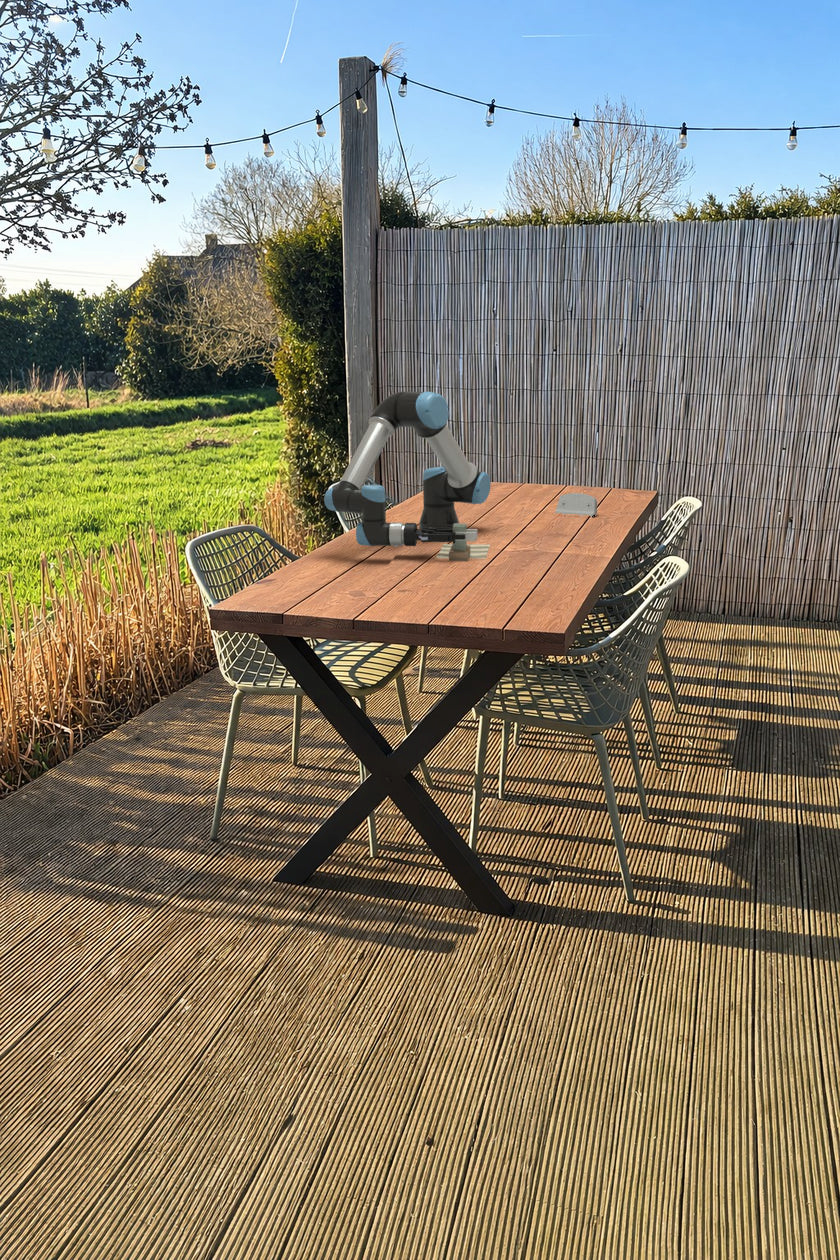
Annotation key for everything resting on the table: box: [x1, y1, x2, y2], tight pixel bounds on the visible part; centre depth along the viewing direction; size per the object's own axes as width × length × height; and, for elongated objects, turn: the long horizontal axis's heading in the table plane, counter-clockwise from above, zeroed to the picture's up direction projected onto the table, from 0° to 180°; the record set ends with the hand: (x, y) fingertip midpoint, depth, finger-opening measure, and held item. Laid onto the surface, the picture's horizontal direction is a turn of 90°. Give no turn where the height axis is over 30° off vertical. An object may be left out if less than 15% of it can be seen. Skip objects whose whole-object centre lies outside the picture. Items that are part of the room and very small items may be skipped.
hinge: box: [554, 492, 598, 517], centre depth 392 cm, size 17×5×10 cm, turn 61°
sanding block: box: [448, 522, 470, 562], centre depth 313 cm, size 10×6×11 cm, turn 172°
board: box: [435, 543, 491, 560], centre depth 324 cm, size 22×16×2 cm
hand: (476, 535), depth 312 cm, fingers closed on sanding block, 4 cm apart
